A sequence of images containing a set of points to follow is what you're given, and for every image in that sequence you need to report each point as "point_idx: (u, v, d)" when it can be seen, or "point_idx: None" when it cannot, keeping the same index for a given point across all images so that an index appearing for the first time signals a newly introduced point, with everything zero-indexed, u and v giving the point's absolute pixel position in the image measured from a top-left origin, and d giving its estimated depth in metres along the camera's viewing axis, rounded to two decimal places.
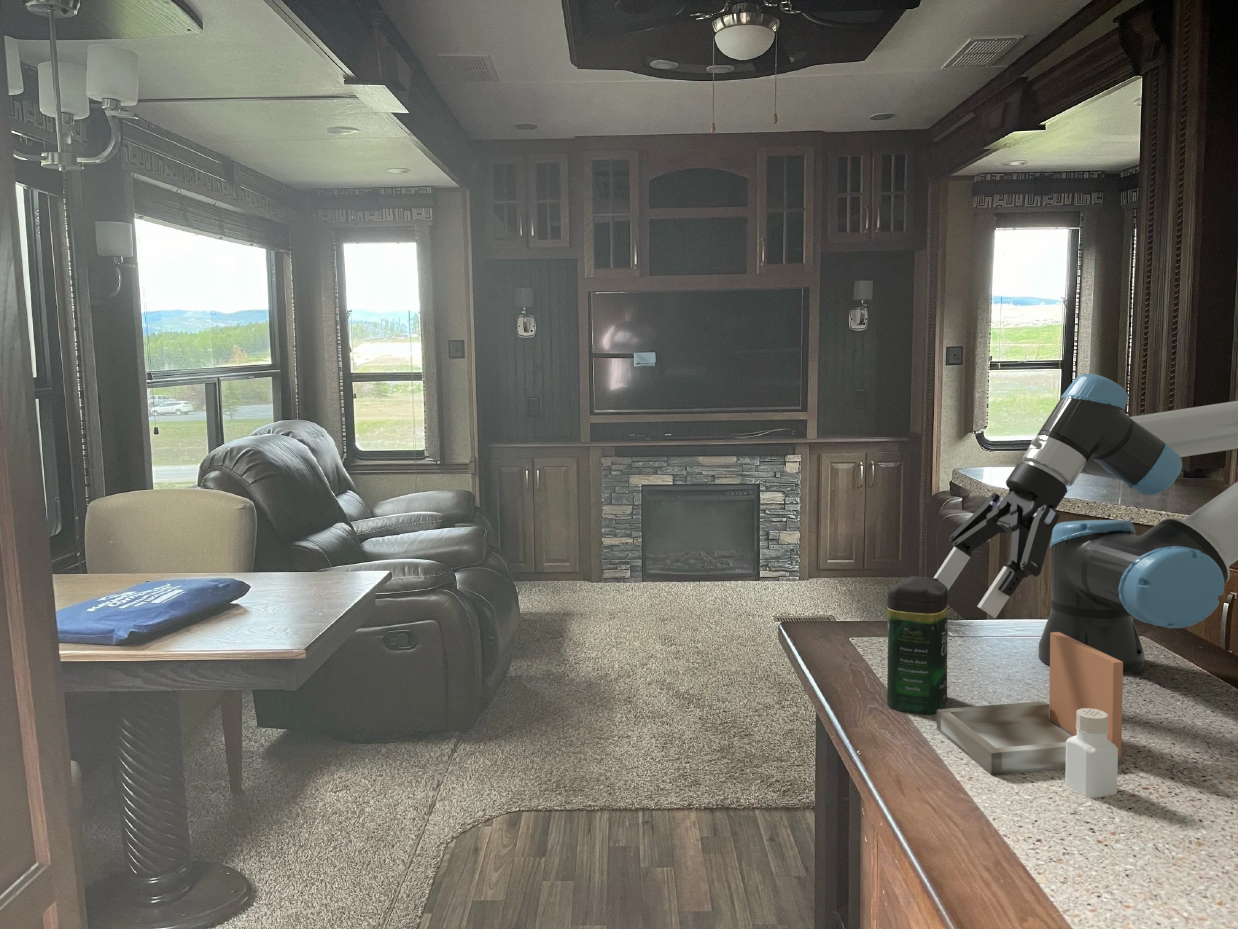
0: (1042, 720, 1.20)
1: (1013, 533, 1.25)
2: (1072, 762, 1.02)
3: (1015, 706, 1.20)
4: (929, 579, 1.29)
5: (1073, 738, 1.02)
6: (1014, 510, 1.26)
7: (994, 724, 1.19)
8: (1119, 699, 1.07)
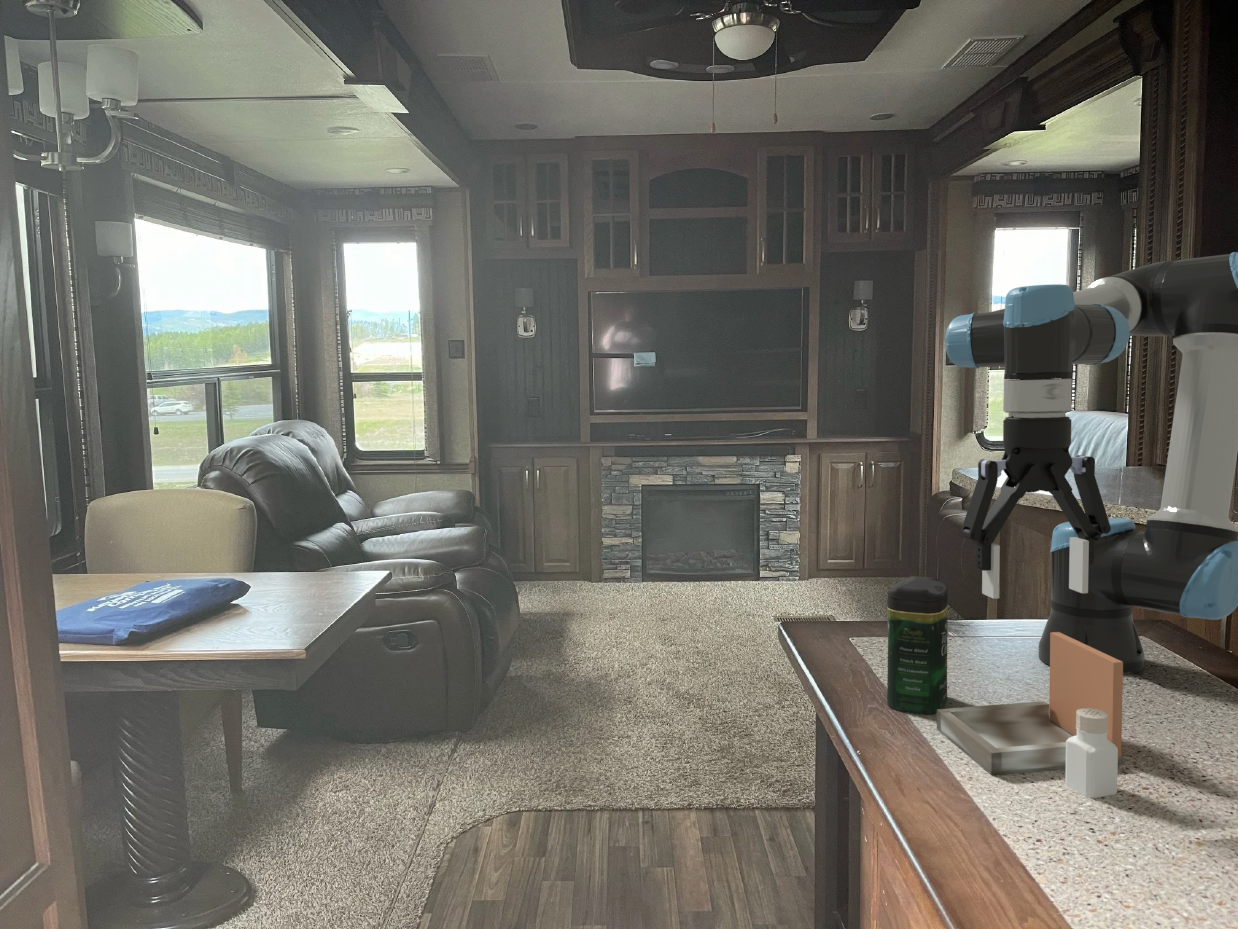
0: (1042, 720, 1.20)
1: (1066, 498, 1.10)
2: (1072, 762, 1.02)
3: (1015, 706, 1.20)
4: (929, 579, 1.29)
5: (1073, 738, 1.02)
6: (1059, 473, 1.09)
7: (994, 724, 1.19)
8: (1119, 699, 1.07)
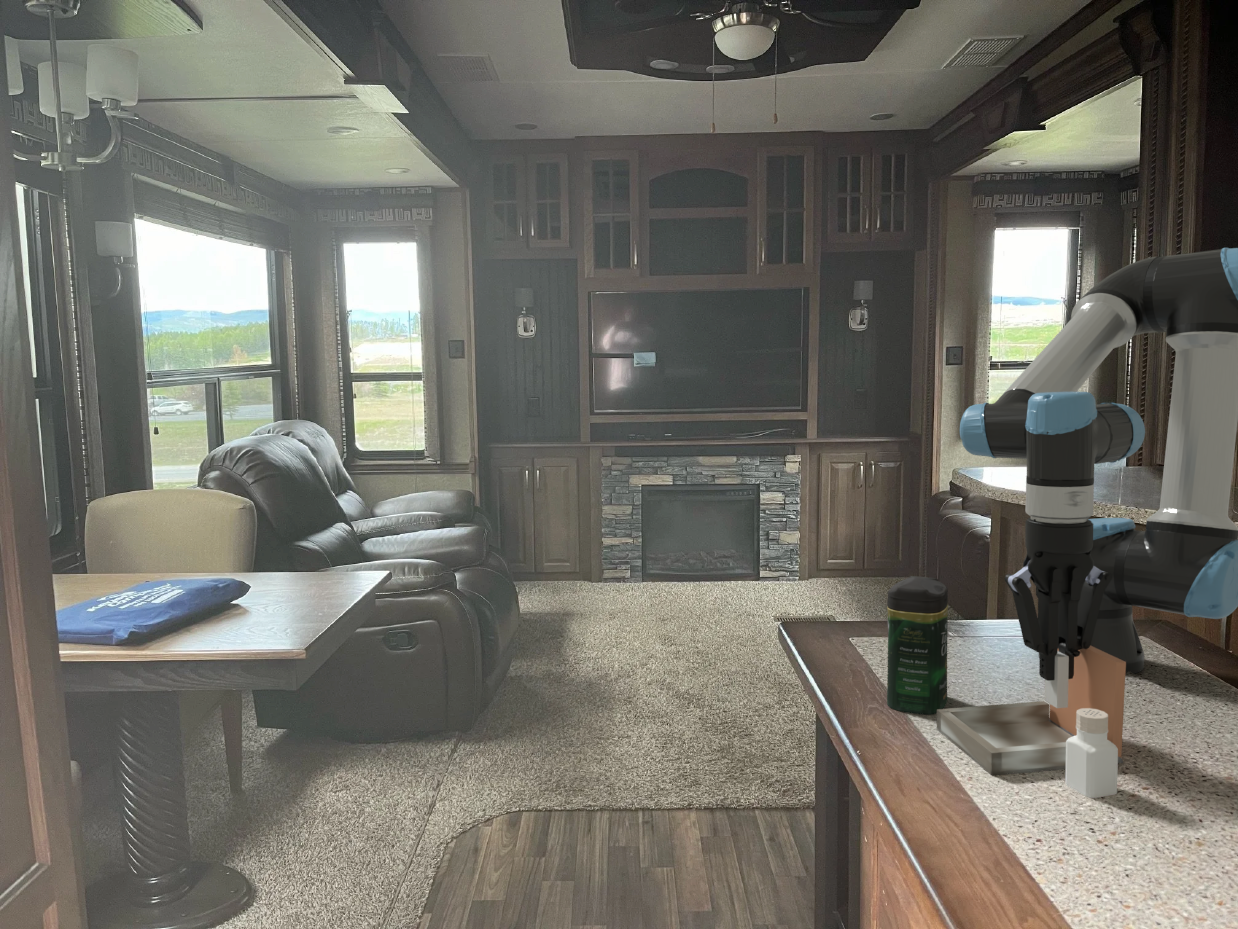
0: (1042, 720, 1.20)
1: (1070, 605, 1.11)
2: (1072, 761, 1.02)
3: (1015, 706, 1.20)
4: (929, 579, 1.29)
5: (1073, 738, 1.02)
6: (1078, 578, 1.10)
7: (994, 724, 1.19)
8: (1121, 699, 1.07)
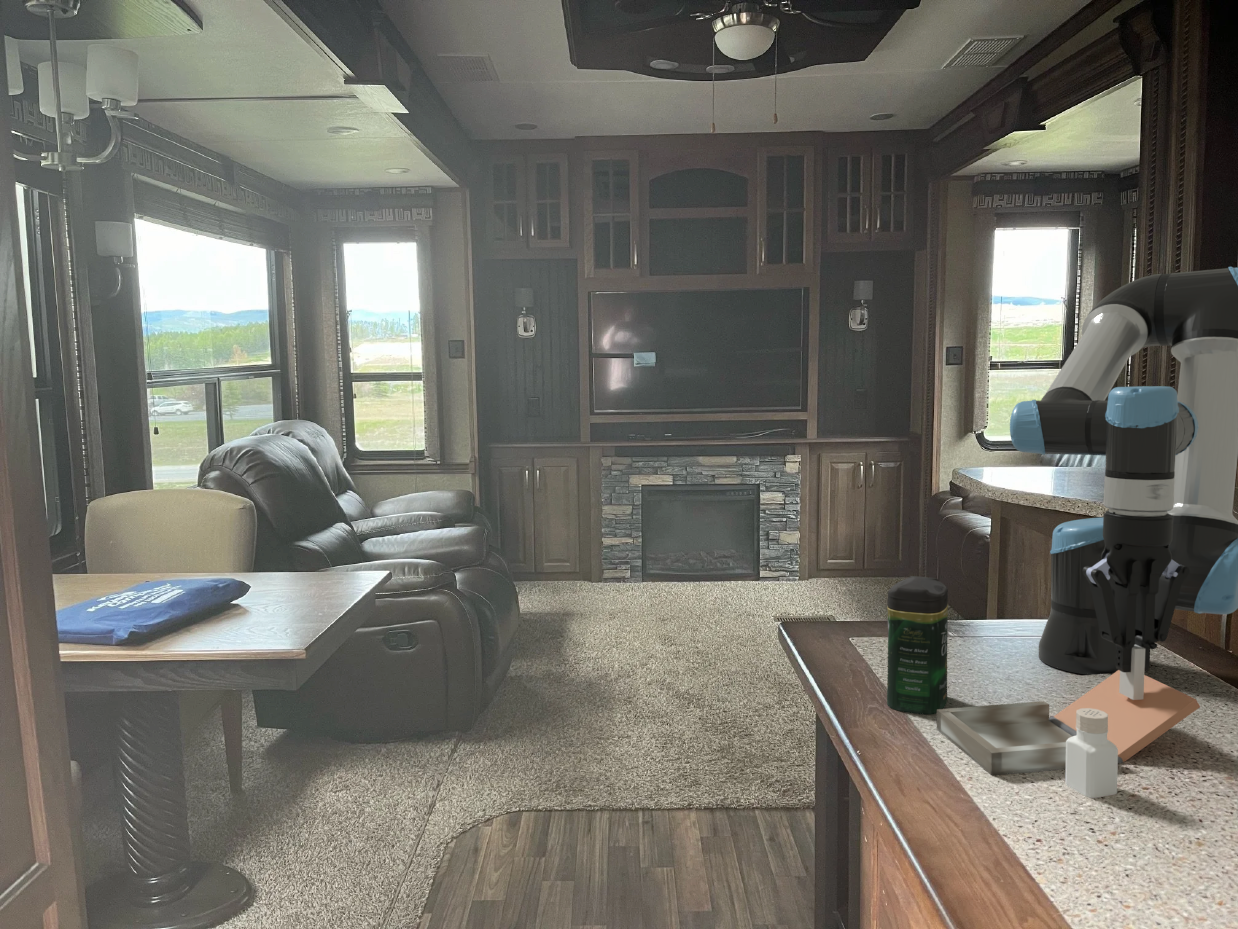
0: (1042, 720, 1.20)
1: (1147, 597, 1.12)
2: (1072, 762, 1.02)
3: (1015, 706, 1.20)
4: (929, 579, 1.29)
5: (1073, 738, 1.02)
6: (1157, 571, 1.11)
7: (994, 724, 1.19)
8: (1168, 726, 1.08)
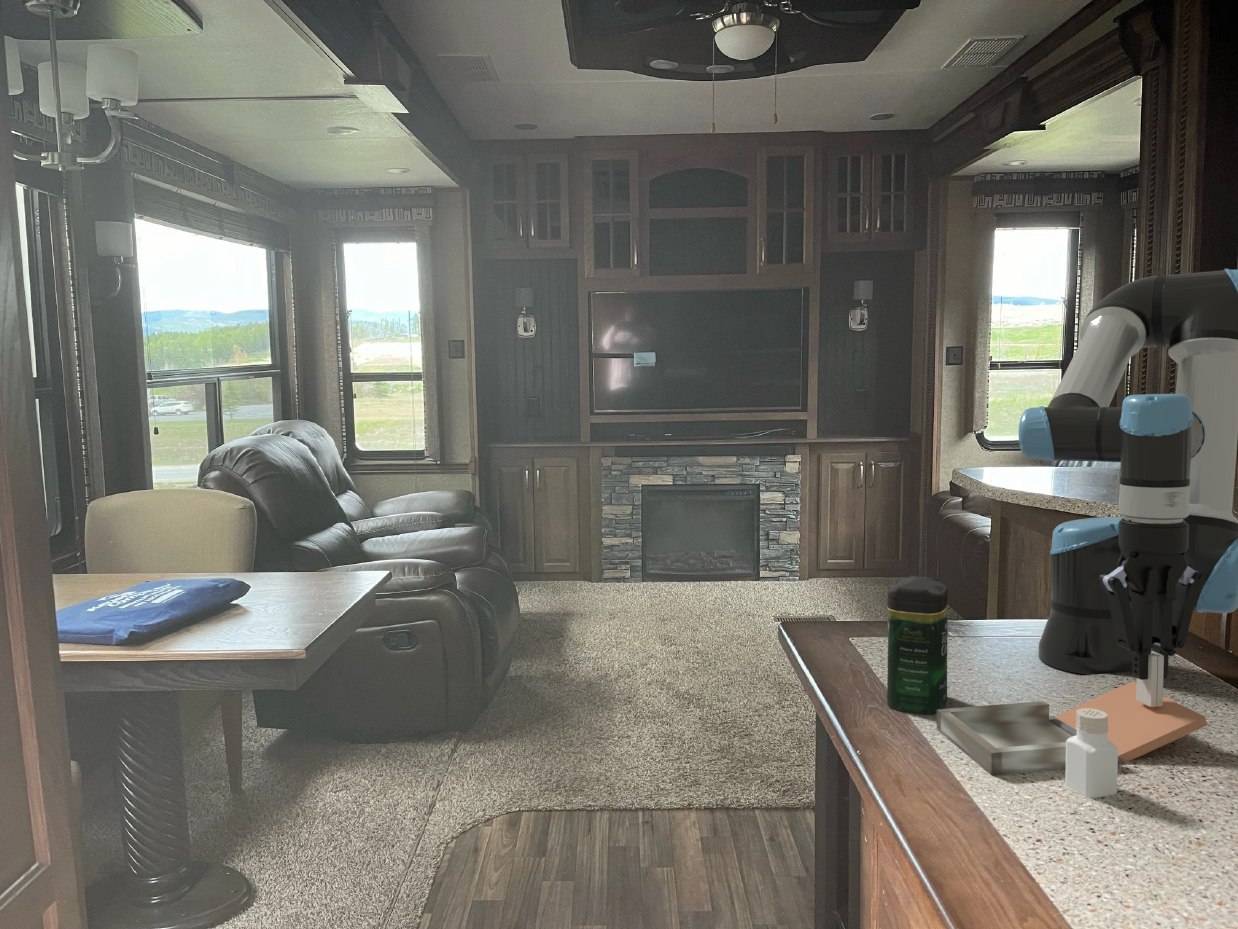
0: (1042, 720, 1.20)
1: (1165, 605, 1.13)
2: (1072, 762, 1.02)
3: (1015, 706, 1.20)
4: (929, 579, 1.29)
5: (1073, 738, 1.02)
6: (1173, 578, 1.12)
7: (994, 724, 1.19)
8: (1173, 737, 1.09)
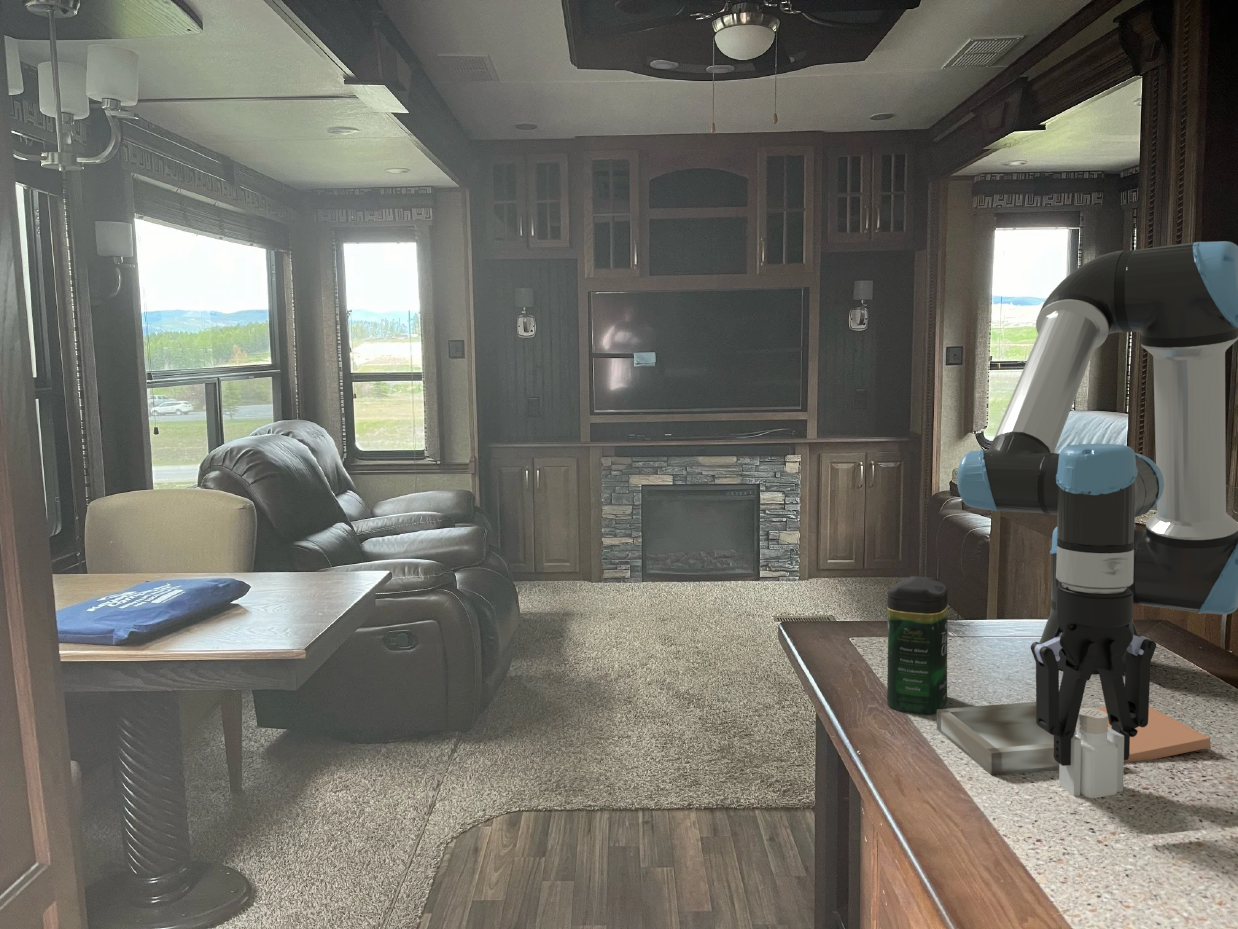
0: None
1: (1115, 682, 1.00)
2: None
3: (1015, 706, 1.20)
4: (929, 579, 1.29)
5: None
6: (1117, 653, 0.99)
7: (994, 724, 1.19)
8: (1175, 751, 1.09)
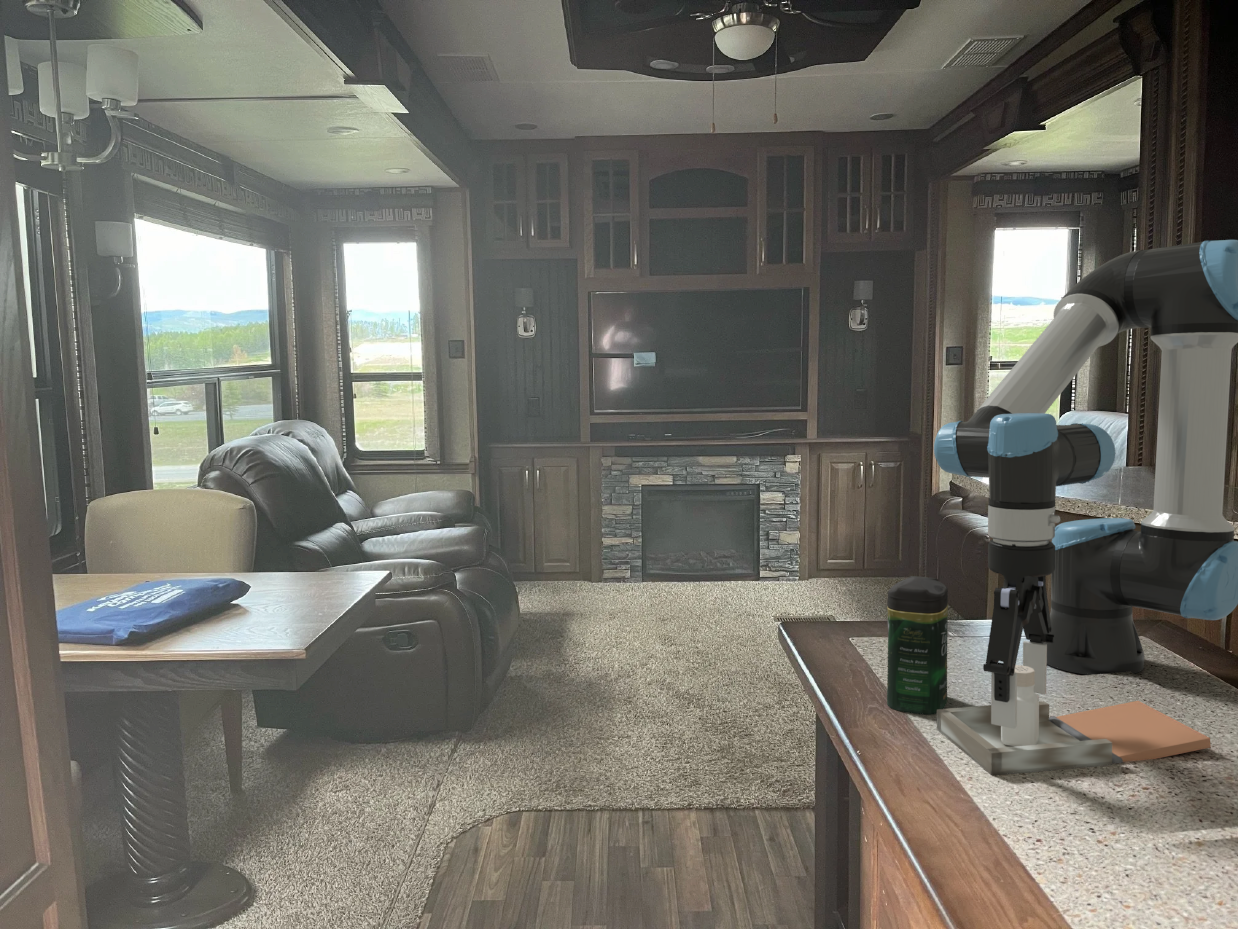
0: (1042, 720, 1.20)
1: (1038, 613, 1.14)
2: None
3: None
4: (929, 579, 1.29)
5: None
6: (1041, 594, 1.12)
7: None
8: (1175, 751, 1.09)
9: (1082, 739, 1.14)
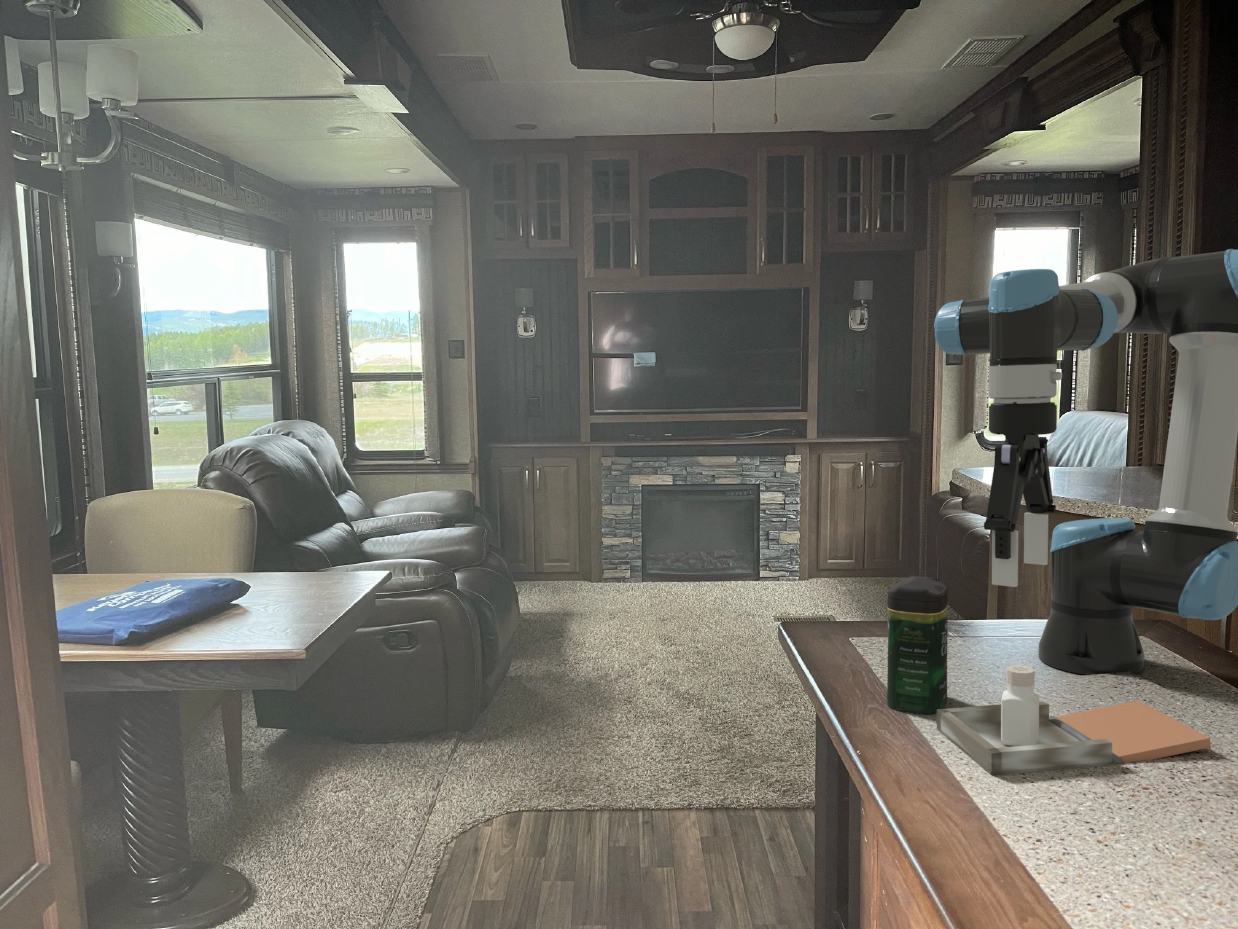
0: (1042, 720, 1.20)
1: (1040, 479, 1.12)
2: (1012, 717, 1.12)
3: None
4: (929, 579, 1.29)
5: (1008, 696, 1.12)
6: (1042, 457, 1.10)
7: (994, 724, 1.19)
8: (1175, 751, 1.09)
9: (1082, 739, 1.14)
